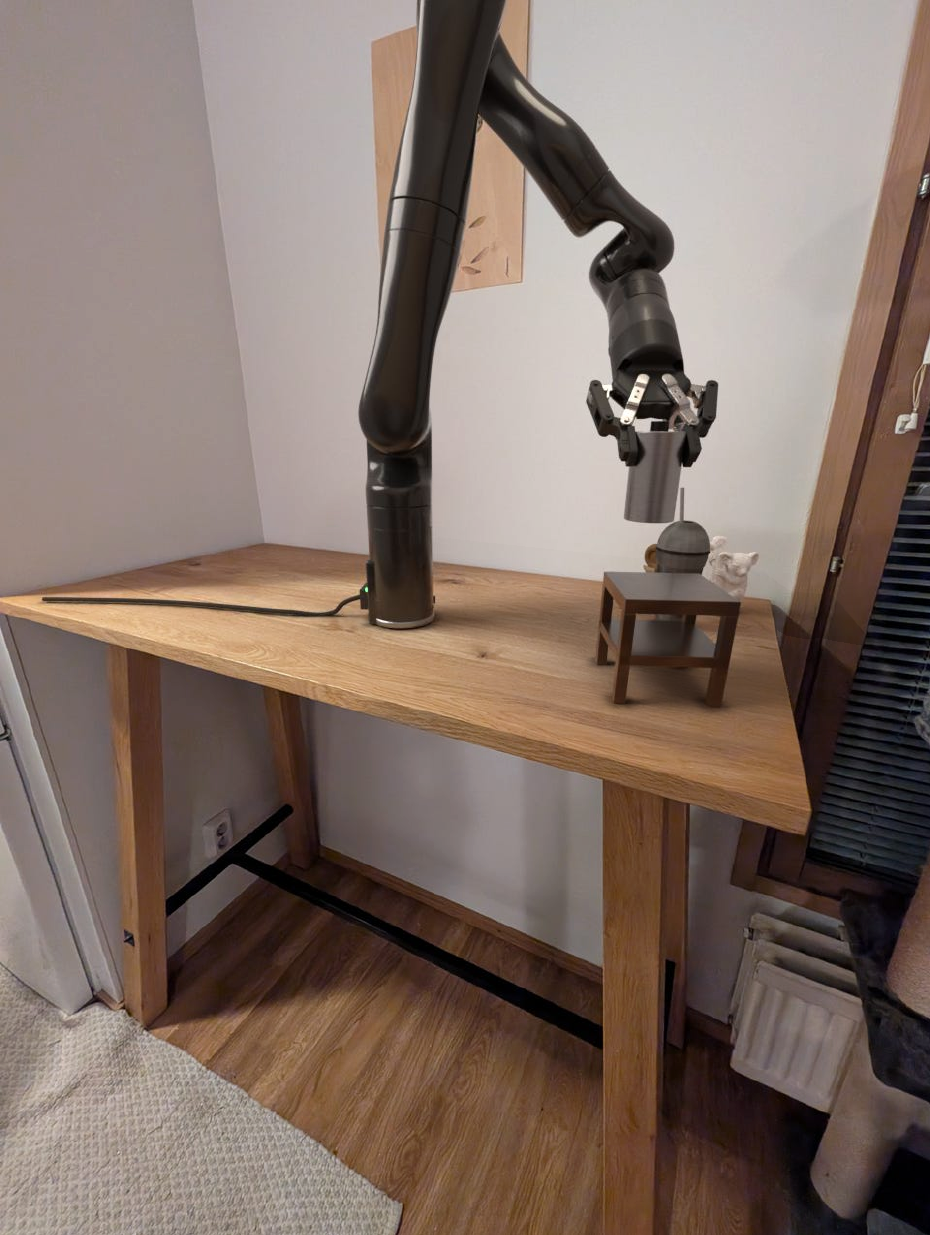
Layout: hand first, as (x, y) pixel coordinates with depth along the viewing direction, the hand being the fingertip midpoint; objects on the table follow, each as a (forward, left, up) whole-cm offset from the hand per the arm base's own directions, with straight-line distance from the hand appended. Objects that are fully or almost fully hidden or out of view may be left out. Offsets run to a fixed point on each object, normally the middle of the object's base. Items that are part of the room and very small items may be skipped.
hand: (661, 460), depth 52 cm
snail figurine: (+10, +27, -24) cm, 37 cm away
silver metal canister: (0, +2, -6) cm, 7 cm away
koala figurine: (+20, +26, -24) cm, 41 cm away
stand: (+2, -1, -24) cm, 24 cm away
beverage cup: (+10, +18, -24) cm, 32 cm away
